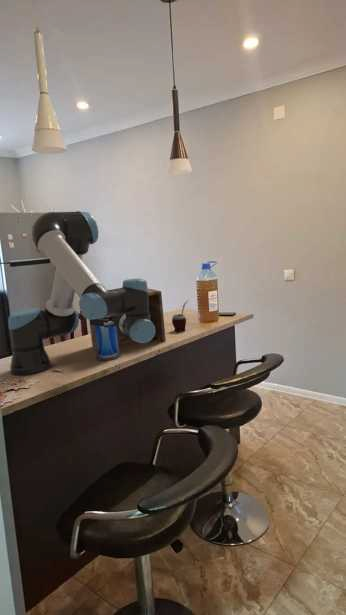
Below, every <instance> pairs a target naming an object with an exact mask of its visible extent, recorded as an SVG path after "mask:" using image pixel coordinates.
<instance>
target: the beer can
mask: <svg viewBox="0 0 346 615" xmlns="http://www.w3.org/2000/svg"><path fill="white" fill-rule="evenodd" d="M107 317H110V316H107ZM95 333H96V341H97V350H98V351H97V350H96V351H97V356H98V355H99V356H100V357H101V358H112V357H115V356H117V354H118V353H119V343H118V342H117V333H116V326H111V325H109V327H108V328H106V327H103V326H96V325H95Z"/></svg>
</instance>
